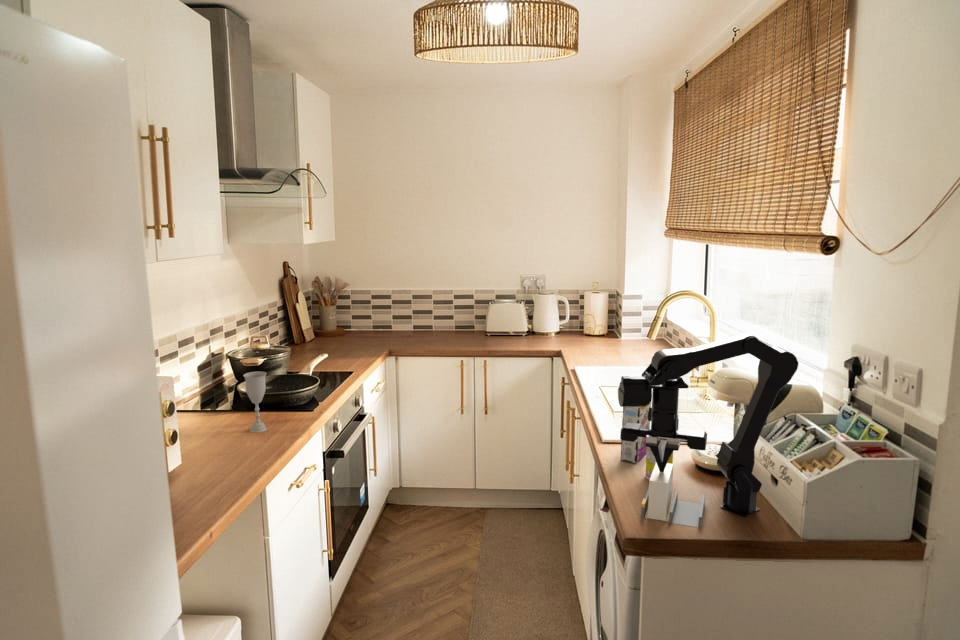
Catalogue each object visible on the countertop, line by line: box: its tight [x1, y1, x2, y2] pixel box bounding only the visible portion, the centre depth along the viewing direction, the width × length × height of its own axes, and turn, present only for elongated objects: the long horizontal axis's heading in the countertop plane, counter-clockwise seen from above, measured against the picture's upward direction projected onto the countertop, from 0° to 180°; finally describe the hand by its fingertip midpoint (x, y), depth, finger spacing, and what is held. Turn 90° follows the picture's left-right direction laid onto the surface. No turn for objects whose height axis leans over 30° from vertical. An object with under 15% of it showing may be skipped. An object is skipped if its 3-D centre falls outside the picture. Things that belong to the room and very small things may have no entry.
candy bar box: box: [620, 401, 652, 464], centre depth 191 cm, size 11×5×16 cm, turn 149°
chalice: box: [242, 370, 268, 434], centre depth 213 cm, size 7×7×18 cm
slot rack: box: [640, 487, 706, 529], centre depth 157 cm, size 13×13×4 cm
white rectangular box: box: [648, 462, 674, 521], centre depth 158 cm, size 4×12×9 cm, turn 159°
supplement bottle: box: [645, 439, 674, 480], centre depth 176 cm, size 7×7×13 cm
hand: (661, 471), depth 157 cm, fingers closed
